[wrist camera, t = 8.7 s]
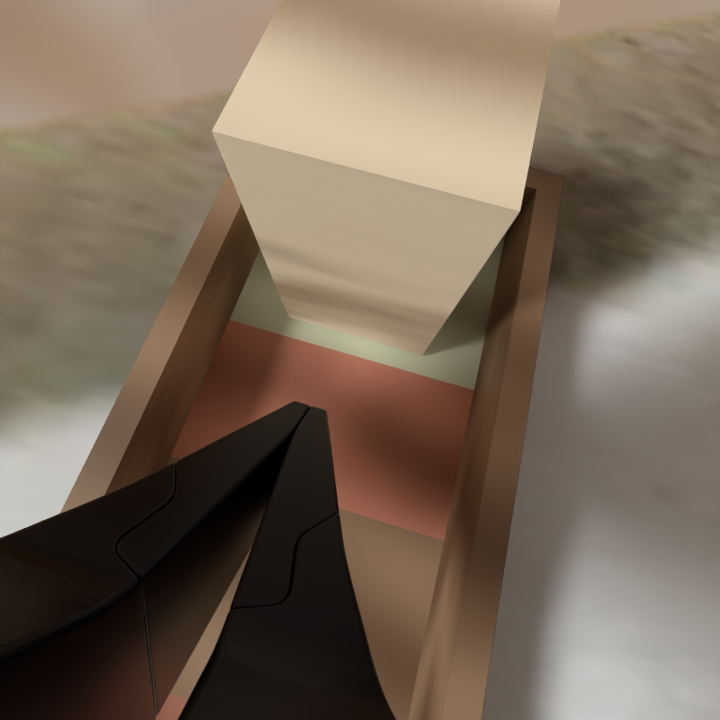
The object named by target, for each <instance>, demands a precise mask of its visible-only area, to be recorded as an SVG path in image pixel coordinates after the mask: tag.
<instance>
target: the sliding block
mask: <svg viewBox="0 0 720 720" xmlns="http://www.w3.org/2000/svg"><path fill="white" fill-rule="evenodd" d="M559 5H560V0H282V1H281V3H280V5H279V7H278V9H277V11H276V13H275V14H274V16H273V18H272V20H271V22H270V24H269V26H268V27H267V29H266V31H265V33H264V35H263V37H262V39H261V41H260V42H259V44H258V46H257V48H256V50H255V52H254V54H253V55H252V58H251V59H250V61H249V63H248V65H247V67H246V69H245V70H244V72H243V74H242V76H241V78H240V80H239V82H238V83H237V85H236V87H235V89H234V91H233V93H232V95H231V96H230V98H229V100H228V102H227V104H226V106H225V108H224V109H223V111H222V113H221V115H220V117H219V119H218V121H217V123H216V124H215V126H214V128H213V130H212V133H213V135H214V138H215V140H216V143H217V145H218V148H219V150H220V152H221V155H222V157H223V160H224V162H225V164H226V167H227V169H228V172H229V174H230V177H231V179H232V181H233V184H234V186H235V189H236V191H237V194H238V196H239V198H240V201H241V203H242V206H243V208H244V211H245V213H246V215H247V218H248V220H249V223H250V225H251V227H252V230H253V232H254V235H255V237H256V240H257V242H258V244H259V247H260V249H261V252H262V254H263V257H264V259H265V261H266V264H267V266H268V269H269V271H270V273H271V276H272V278H273V281H274V283H275V286H276V288H277V290H278V293H279V295H280V298H281V300H282V303H283V305H284V307H285V310H286V312H287V315H288V317H289V318H292V319H295V320H299V321H302V322H306V323H309V324H313V325H316V326H320V327H323V328H327V329H330V330H334V331H337V332H341V333H344V334H348V335H351V336H355V337H358V338H362V339H365V340H369V341H372V342H376V343H379V344H383V345H386V346H390V347H394V348H397V349H401V350H404V351H408V352H411V353H415V354H418V355H423V354H424V352H425V351H426V349H427V348H428V346H429V345H430V343H431V342H432V340H433V339H434V337H435V336H436V334H437V333H438V331H439V330H440V329H441V327H442V326H443V324H444V323H445V321H446V320H447V318H448V317H449V315H450V314H451V312H452V311H453V309H454V308H455V306H456V305H457V304H458V302H459V301H460V299H461V298H462V296H463V295H464V293H465V292H466V290H467V289H468V287H469V286H470V284H471V283H472V281H473V280H474V279H475V277H476V276H477V274H478V273H479V271H480V270H481V268H482V267H483V265H484V264H485V262H486V261H487V259H488V258H489V256H490V255H491V253H492V252H493V251H494V249H495V248H496V246H497V245H498V243H499V242H500V240H501V239H502V237H503V236H504V234H505V233H506V231H507V230H508V228H509V227H510V226H511V224H512V223H513V221H514V220H515V218H516V217H517V215H518V214H519V212H520V209H521V204H522V199H523V194H524V189H525V183H526V178H527V173H528V168H529V162H530V157H531V152H532V147H533V141H534V136H535V131H536V126H537V121H538V115H539V110H540V105H541V100H542V94H543V89H544V84H545V79H546V73H547V68H548V63H549V58H550V53H551V47H552V42H553V37H554V31H555V26H556V21H557V16H558V11H559Z"/></svg>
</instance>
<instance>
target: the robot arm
mask: <svg viewBox="0 0 720 720" xmlns="http://www.w3.org/2000/svg"><path fill="white" fill-rule="evenodd" d="M251 547H252V548H251ZM250 549H251V550H250ZM249 551H250V553H249V556H248V559H247V562H246V564H245V567H244V570H243V573H242V575H241V578H240V581H239V584H238V586H237V589H236V592H235V595H234V598H233V600H232V603H231V606H230V611H229V612H228V614H227V617H226V620H225V623H224V625H223V628H222V630H221V633H220V635H219V638H218V640H217V643H216V645H215V647H214V650H213V652H212V654H211V656H210V658H209V660H208V662H207V664H206V666H205V668H204V670H203V672H202V674H201V675H200V677H199V679H198V681H197V683H196V685H195V687H194V689H193V691H192V693H191V695H190V697H189V698H188V700H187V702H186V704H185V706H184V708H183V710H182V712H181V714H180V716H179V718H178V720H397V719H396V718H395V716H394V714H393V712H392V710H391V708H390V706H389V704H388V702H387V699H386V697H385V694H384V692H383V689H382V687H381V684H380V681H379V678H378V675H377V672H376V669H375V665H374V662H373V658H372V655H371V651H370V648H369V644H368V640H367V636H366V633H365V629H364V625H363V621H362V618H361V614H360V610H359V606H358V603H357V599H356V595H355V591H354V588H353V584H352V580H351V576H350V571H349V567H348V563H347V558H346V554H345V547H344V541H343V535H342V528H341V520H340V515H339V505H338V497H337V489H336V481H335V472H334V464H333V456H332V448H331V439H330V431H329V423H328V415H327V411H326V410H325V409H321V408H318V407H315V406H312V407H310V406H309V405H308V404H305V403H301V402H298V401H293V402H291V403H289V404H287V405H285V406H283V407H281V408H279V409H277V410H275V411H273V412H271V413H269V414H268V415H266V416H264V417H262V418H260V419H258V420H256V421H254V422H252V423H250V424H248V425H246V426H244V427H242V428H240V429H238V430H236V431H234V432H232V433H230V434H228V435H226V436H224V437H223V438H221V439H219V440H217V441H215V442H213V443H211V444H209V445H207V446H205V447H203V448H201V449H199V450H197V451H195V452H193V453H191V454H189V455H187V456H185V457H183V458H181V459H179V460H178V461H176V464H175V463H171V464H169V465H167V466H165V467H163V468H162V469H160V470H158V471H156V472H154V473H151V474H149V475H147V476H145V477H143V478H141V479H139V480H137V481H135V482H133V483H131V484H129V485H126V486H124V487H122V488H119V489H117V490H115V491H113V492H110V493H108V494H106V495H103V496H101V497H99V498H96V499H94V500H92V501H89V502H87V503H84V504H82V505H80V506H77V507H75V508H72V509H70V510H67V511H65V512H63V513H60V514H58V515H55V516H53V517H51V518H48V519H46V520H43V521H41V522H38V523H36V524H34V525H31V526H29V527H26V528H24V529H21V530H19V531H17V532H14V533H12V534H9V535H7V536H4V537H1V538H0V720H155V719H156V716H157V715H158V714H159V712H160V710H161V709H162V707H163V705H164V703H165V701H166V700H167V698H168V696H169V694H170V692H171V691H172V689H173V687H174V685H175V683H176V682H177V680H178V678H179V676H180V674H181V673H182V671H183V669H184V667H185V665H186V664H187V662H188V660H189V658H190V657H191V655H192V653H193V651H194V649H195V648H196V646H197V644H198V642H199V640H200V639H201V637H202V635H203V633H204V631H205V630H206V628H207V626H208V624H209V622H210V621H211V619H212V617H213V615H214V613H215V612H216V610H217V608H218V606H219V604H220V603H221V601H222V599H223V597H224V595H225V594H226V592H227V590H228V588H229V586H230V585H231V583H232V581H233V579H234V578H235V576H236V574H237V572H238V570H239V569H240V567H241V565H242V563H243V561H244V560H245V558H246V556H247V554H248V552H249Z"/></svg>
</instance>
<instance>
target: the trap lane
mask: <svg viewBox="0 0 720 720" xmlns="http://www.w3.org/2000/svg"><path fill="white" fill-rule="evenodd" d="M563 181H564V176H562V175H558V174H554V173H551V172H547V171H543V170H539V169H535V168H531V167H529V168H528V173H527V178H526V183H525V189H524V194H523V199H522V204H521V209H520V212H519V214H518V215H517V217H516V218H515V220H514V221H513V223H512V224H511V226H510V227H509V228H508V230H507V231H506V233H505V234H504V236H503V237H502V239H501V240H500V242H499V243H498V245H497V246H496V248H495V249H494V251H493V252H492V253H491V255H490V256H489V258H488V259H487V261H486V262H485V264H484V265H483V267H482V268H481V270H480V271H479V273H478V274H477V276H476V277H475V279H474V280H473V281H472V283H471V284H470V286H469V287H468V289H467V290H466V292H465V293H464V295H463V296H462V298H461V299H460V301H459V302H458V304H457V305H456V306H455V308H454V309H453V311H452V312H451V314H450V315H449V317H448V318H447V320H446V321H445V323H444V324H443V326H442V327H441V329H440V330H439V331H438V333H437V334H436V336H435V337H434V339H433V340H432V342H431V343H430V345H429V346H428V348H427V349H426V351H425V352H424V354H423V355H418V354H415V353H411V352H408V351H404V350H401V349H397V348H394V347H390V346H386V345H383V344H379V343H376V342H372V341H369V340H365V339H362V338H358V337H355V336H351V335H348V334H344V333H341V332H337V331H334V330H330V329H327V328H323V327H320V326H316V325H313V324H309V323H306V322H302V321H299V320H295V319H292V318H289V317H288V315H287V312H286V310H285V307H284V305H283V303H282V300H281V298H280V295H279V293H278V290H277V288H276V286H275V283H274V281H273V278H272V276H271V273H270V271H269V269H268V266H267V264H266V261H265V259H264V257H263V254H262V252H261V249H260V247H259V244H258V242H257V240H256V237H255V235H254V232H253V230H252V227H251V225H250V223H249V220H248V218H247V215H246V213H245V211H244V208H243V206H242V203H241V201H240V198H239V196H238V194H237V191H236V189H235V186H234V184H233V181H232V179H231V177H230V174H228V176H227V178H226V180H225V182H224V184H223V186H222V188H221V190H220V192H219V194H218V196H217V198H216V200H215V202H214V204H213V206H212V208H211V210H210V212H209V214H208V216H207V218H206V220H205V222H204V224H203V226H202V228H201V230H200V232H199V234H198V236H197V238H196V240H195V242H194V244H193V246H192V248H191V250H190V252H189V254H188V256H187V258H186V260H185V262H184V264H183V267H182V269H181V271H180V273H179V275H178V277H177V279H176V281H175V283H174V285H173V287H172V289H171V291H170V293H169V295H168V297H167V299H166V301H165V303H164V305H163V307H162V309H161V311H160V313H159V315H158V317H157V319H156V321H155V323H154V325H153V327H152V329H151V331H150V333H149V335H148V337H147V339H146V341H145V343H144V345H143V347H142V349H141V351H140V353H139V355H138V357H137V359H136V361H135V363H134V365H133V367H132V369H131V371H130V373H129V375H128V377H127V379H126V381H125V383H124V385H123V388H122V390H121V392H120V394H119V396H118V398H117V400H116V402H115V404H114V406H113V408H112V410H111V412H110V414H109V416H108V418H107V420H106V422H105V424H104V426H103V428H102V430H101V432H100V434H99V436H98V438H97V440H96V442H95V444H94V446H93V448H92V450H91V452H90V454H89V456H88V458H87V460H86V462H85V464H84V466H83V468H82V470H81V472H80V474H79V476H78V478H77V480H76V482H75V484H74V486H73V488H72V490H71V492H70V494H69V496H68V498H67V500H66V502H65V504H64V507H63V509H62V511H61V513H63V512H65V511H67V510H70V509H72V508H75V507H77V506H80V505H82V504H84V503H87V502H89V501H92V500H94V499H96V498H99V497H101V496H103V495H106V494H108V493H110V492H113V491H115V490H117V489H119V488H122V487H124V486H126V485H129V484H131V483H133V482H135V481H137V480H139V479H141V478H143V477H145V476H147V475H149V474H151V473H154V472H156V471H158V470H160V469H162V468H163V467H165V466H167V465H169V464H171V463H175V464H176V461H178V460H179V459H181V458H183V457H185V456H187V455H189V454H191V453H193V452H195V451H197V450H199V449H201V448H203V447H205V446H207V445H209V444H211V443H213V442H215V441H217V440H219V439H221V438H223V437H224V436H226V435H228V434H230V433H232V432H234V431H236V430H238V429H240V428H242V427H244V426H246V425H248V424H250V423H252V422H254V421H256V420H258V419H260V418H262V417H264V416H266V415H268V414H269V413H271V412H273V411H275V410H277V409H279V408H281V407H283V406H285V405H287V404H289V403H291V402H293V401H298V402H301V403H305V404H308V405H309V406H310V407H312V406H315V407H318V408H321V409H325V410H326V411H327V415H328V423H329V431H330V439H331V448H332V456H333V464H334V472H335V481H336V489H337V497H338V505H339V515H340V520H341V528H342V535H343V541H344V547H345V554H346V558H347V563H348V567H349V571H350V576H351V580H352V584H353V588H354V591H355V595H356V599H357V603H358V606H359V610H360V614H361V618H362V621H363V625H364V629H365V633H366V636H367V640H368V644H369V648H370V651H371V655H372V658H373V662H374V665H375V669H376V672H377V675H378V678H379V681H380V684H381V687H382V689H383V692H384V694H385V697H386V699H387V702H388V704H389V706H390V708H391V710H392V712H393V714H394V716H395V718H396V719H397V720H481V717H482V710H483V704H484V697H485V691H486V684H487V678H488V671H489V664H490V658H491V651H492V645H493V638H494V632H495V625H496V619H497V612H498V606H499V599H500V593H501V586H502V580H503V573H504V567H505V560H506V553H507V547H508V540H509V534H510V527H511V521H512V514H513V508H514V501H515V495H516V488H517V482H518V475H519V469H520V462H521V456H522V449H523V442H524V436H525V429H526V423H527V416H528V410H529V403H530V397H531V390H532V384H533V377H534V371H535V364H536V358H537V351H538V345H539V338H540V331H541V325H542V318H543V312H544V305H545V299H546V292H547V286H548V279H549V273H550V266H551V260H552V253H553V247H554V240H555V234H556V227H557V221H558V214H559V207H560V201H561V194H562V188H563ZM251 548H252V547H251ZM250 550H251V549H250ZM249 553H250V551H249V552H248V554H247V556H246V558H245V560H244V561H243V563H242V565H241V567H240V569H239V570H238V572H237V574H236V576H235V578H234V579H233V581H232V583H231V585H230V586H229V588H228V590H227V592H226V594H225V595H224V597H223V599H222V601H221V603H220V604H219V606H218V608H217V610H216V612H215V613H214V615H213V617H212V619H211V621H210V622H209V624H208V626H207V628H206V630H205V631H204V633H203V635H202V637H201V639H200V640H199V642H198V644H197V646H196V648H195V649H194V651H193V653H192V655H191V657H190V658H189V660H188V662H187V664H186V665H185V667H184V669H183V671H182V673H181V674H180V676H179V678H178V680H177V682H176V683H175V685H174V687H173V689H172V691H171V692H170V694H169V696H168V698H167V700H166V701H165V703H164V705H163V707H162V709H161V710H160V712H159V714H158V715H157V716H156V719H155V720H178V718H179V716H180V714H181V712H182V710H183V708H184V706H185V704H186V702H187V700H188V698H189V697H190V695H191V693H192V691H193V689H194V687H195V685H196V683H197V681H198V679H199V677H200V675H201V674H202V672H203V670H204V668H205V666H206V664H207V662H208V660H209V658H210V656H211V654H212V652H213V650H214V647H215V645H216V643H217V640H218V638H219V635H220V633H221V630H222V628H223V625H224V623H225V620H226V617H227V614H228V612H229V611H230V606H231V603H232V600H233V598H234V595H235V592H236V589H237V586H238V584H239V581H240V578H241V575H242V573H243V570H244V567H245V564H246V562H247V559H248V556H249Z"/></svg>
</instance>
